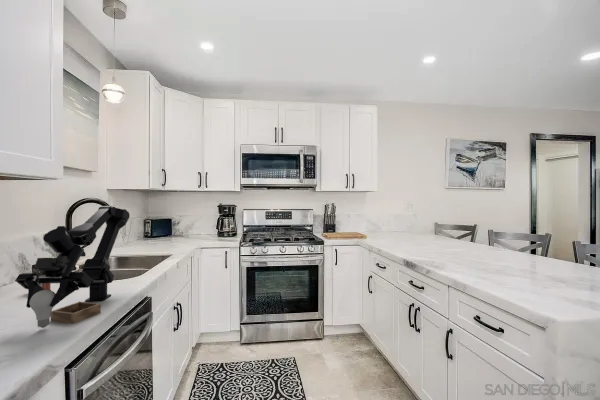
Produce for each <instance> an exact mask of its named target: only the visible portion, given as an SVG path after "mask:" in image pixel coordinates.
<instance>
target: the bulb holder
mask: <svg viewBox="0 0 600 400" xmlns="http://www.w3.org/2000/svg"><path fill="white" fill-rule="evenodd" d="M101 306H102V305H101V303H96V302H89V301H87V302H85V301H77V302H74V303H72V304H71V303H70V304H68V305H65V306H63V307H59V308H56V309H54V310H53V309H52V311H51V317H50V321H51V322H56V323H63V324H64V323H65V324H72V325H73V324H77V323H79V322H80V321H84V320H86V319H88V318H91V317H93V316H95V315H98V314H100V313H101V309H102V307H101Z"/></svg>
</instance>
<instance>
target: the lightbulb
mask: <svg viewBox="0 0 600 400" xmlns="http://www.w3.org/2000/svg"><path fill="white" fill-rule="evenodd" d="M55 294H56V292H55V291H53V290H52V289H50V290H42V291H39V292H37V293H35V294H34V295H33V296H32V297H31V299H30V302H29V304H30V308H31V309H32V311H33V312H34V314H35V317H36V318H35V320H37V327H39V328H42V329H43V328H46V327H48V326H49V324H50V320H51V311H53V308H54V307H51V306H50V304H51V302H52V299H53V298H54V296H55Z"/></svg>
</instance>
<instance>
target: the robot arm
mask: <svg viewBox="0 0 600 400" xmlns="http://www.w3.org/2000/svg"><path fill="white" fill-rule="evenodd" d="M130 214H131V213H130V212H129V211H128V210H127V209H125V208H124V209H123V208H119V207H115V206H113V205H102V206H99V207H98V209H97V211H95V212H94V214H93V215H91V216H90V217H89V218H88V219H87V220H86V221H85V222H84V223H82V224H79V225H77V226H74V227H72V228H71V229H69V230H68V229H67V227H66V226H65V225H58V226H56V228H54V229H53V228H52V229H51V230H49V231H48V232H47V233H45V234H44V235H43V238H42V239H43V241H44V242H45V243H46V245H48V247H50V248H51V250H52V251H54V253H57V254H58V255H57V256H56V257H38V258H37V259H36V262H35V265H34V267H33V269H39V270H42V272H41V273H42V274H45V275H46V276H45V277H39V276H38V275H37V274H36V272H22V273H19V274H18V276H17V277H16V278H15V280H14V281H15V282H16V283H17V284H18V285H20V287H23V289H25V290H27V291H28V293H27V300H26V306H25V307H26V308H28V309H30V308H31V307H30V304H29V302H30V299H31V297H32V296H33V295H34V294H35V293H37V292H39V291H42V290H44V289H43V288H42V287H41V286H42V285H43V283H50V284H59V287H58V289H57V291H56V292H55V296H54V298H53V299H52V302H51V304H50V306H51V307H53V308H54V307H55V306H56V305H57V304H59V303H60V302H62V301H63V300H64V299H65V298H67V297H68V296H69V295H71V294H72V293H75V291H79V289H86V288H87V289H88V288H89V289H88V290H89V296H88V298H87V299H85V300H84V302H100V301H105V300H106V299H108V298H110V297H111V296H112V294H111V293H108V284H111V283H113V281H114V277H115V275H114V274H113V272H112V271H111V270H110V269H111V264H110V263H109V258H110V255H111V253H112V251H113V248H114V245H115V242H116V241H117V240H116V239H117V237H118V234H119V231H120V230H121V229H122V228H124V226H126V224H127V222H128V221H129V219H130V216H131V215H130ZM104 224H106V226H105V228H104V230H103V231H104V232H103V234H102V236H101V239H100V241H99V243H98V246H97V248H96V251H95V253H94V255H93V257H92V258H87V259H86V260H85V261H84V265H83V266H82V268H81V271H77V269H78V267H77V266H76V265H77V263H78V261H79V260H80V258H81V257H86V251H85V249H84V248H82V246H83V247H84V246H90V245H92V244H93V242H94V241H95V239H96V238H97V232H98V230H100V229H101V227H102V226H104Z"/></svg>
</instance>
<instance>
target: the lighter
mask: <svg viewBox="0 0 600 400" xmlns="http://www.w3.org/2000/svg"><path fill="white" fill-rule="evenodd" d="M41 272H42V270H39V269H34V268H33V269H32V273H36V274H37V275H38V276H39V277H45V276H46V275H45V274H42V273H41ZM41 287H42V288H43V289H44V290H51V283H43V285H42V286H41Z"/></svg>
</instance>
